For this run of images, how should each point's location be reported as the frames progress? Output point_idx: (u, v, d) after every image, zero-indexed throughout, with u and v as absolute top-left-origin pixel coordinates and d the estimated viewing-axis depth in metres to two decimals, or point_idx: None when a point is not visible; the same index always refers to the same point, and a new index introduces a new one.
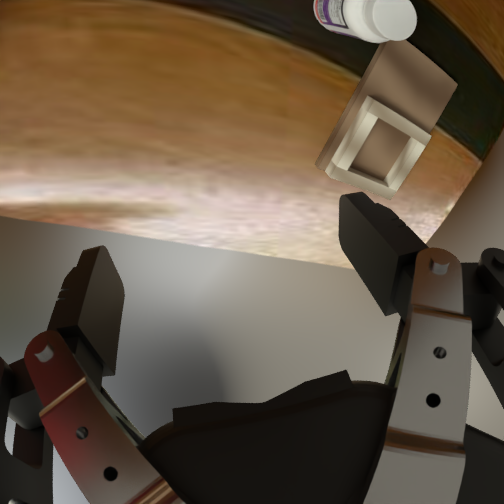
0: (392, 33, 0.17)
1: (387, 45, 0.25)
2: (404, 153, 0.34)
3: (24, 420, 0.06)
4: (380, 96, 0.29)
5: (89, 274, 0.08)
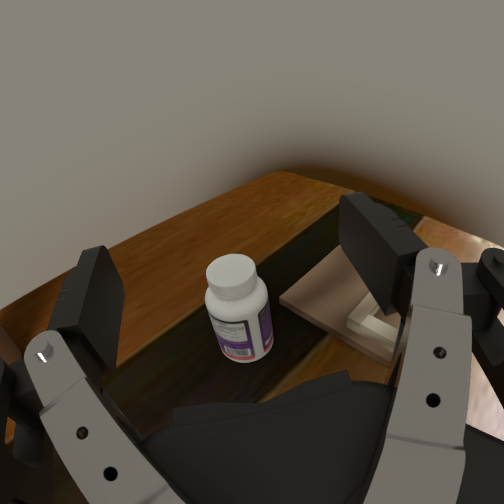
0: (245, 273, 0.25)
1: (293, 304, 0.33)
2: None
3: (24, 420, 0.06)
4: (349, 314, 0.31)
5: (89, 274, 0.08)
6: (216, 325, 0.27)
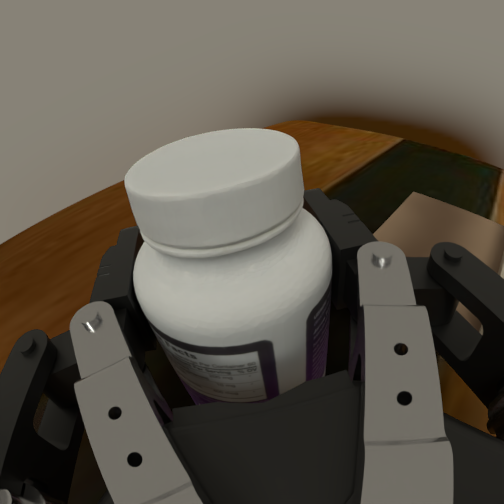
0: (266, 157, 0.06)
1: None
2: None
3: (58, 399, 0.06)
4: None
5: (132, 250, 0.09)
6: (169, 353, 0.08)
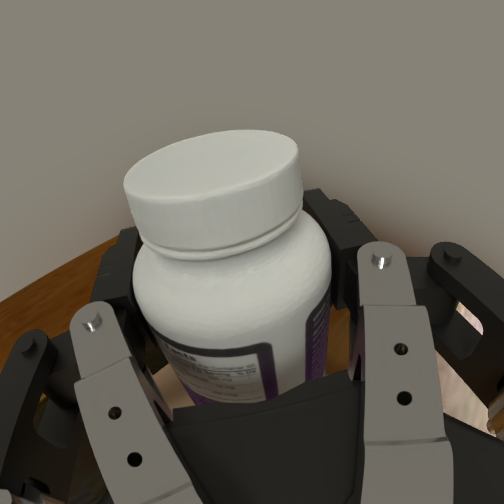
0: (265, 159, 0.06)
1: None
2: None
3: (58, 399, 0.06)
4: None
5: (132, 250, 0.09)
6: (168, 355, 0.08)
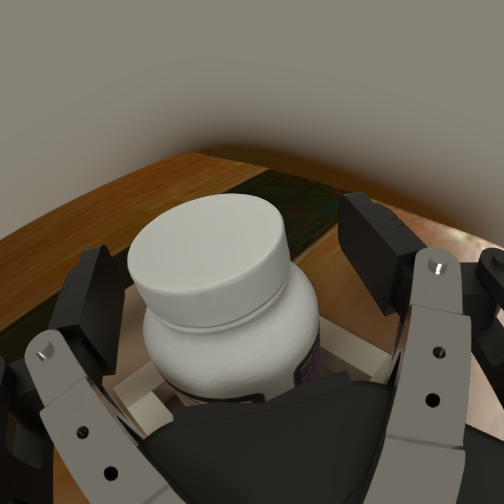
0: (252, 243, 0.07)
1: None
2: None
3: (24, 420, 0.06)
4: None
5: (90, 273, 0.08)
6: (178, 395, 0.09)
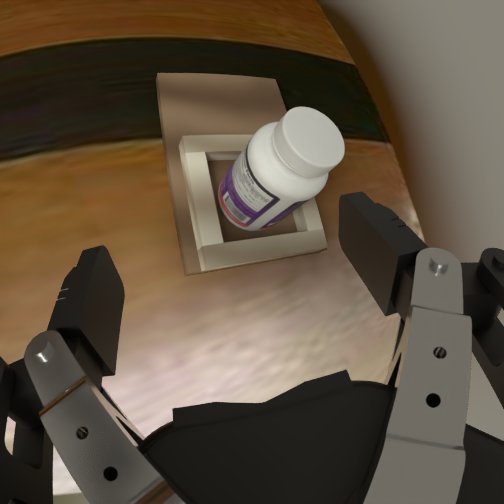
0: (328, 157, 0.16)
1: (161, 88, 0.24)
2: None
3: (24, 420, 0.06)
4: None
5: (89, 274, 0.08)
6: (242, 171, 0.19)
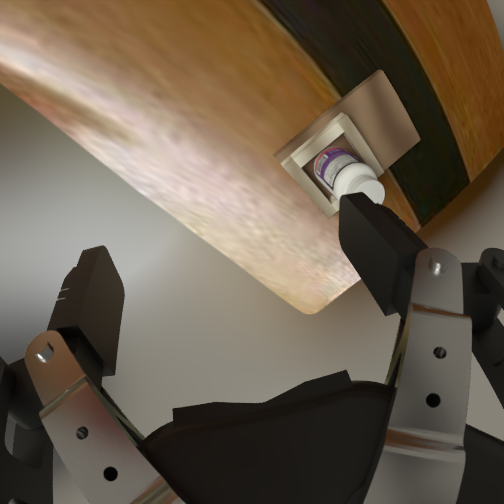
0: None
1: (373, 79, 0.33)
2: None
3: (24, 420, 0.06)
4: (351, 118, 0.36)
5: (89, 274, 0.08)
6: (338, 165, 0.34)
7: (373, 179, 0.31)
